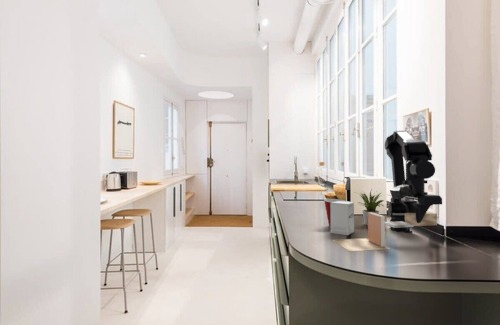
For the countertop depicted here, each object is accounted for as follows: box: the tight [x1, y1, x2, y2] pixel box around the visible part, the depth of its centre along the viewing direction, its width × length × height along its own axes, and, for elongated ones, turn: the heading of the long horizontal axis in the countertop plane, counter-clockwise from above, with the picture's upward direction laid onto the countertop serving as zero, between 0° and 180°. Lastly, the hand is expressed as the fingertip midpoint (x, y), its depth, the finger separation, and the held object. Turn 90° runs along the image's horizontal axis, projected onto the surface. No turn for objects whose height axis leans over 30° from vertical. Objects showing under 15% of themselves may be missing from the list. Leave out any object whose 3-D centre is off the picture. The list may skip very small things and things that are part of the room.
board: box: [332, 237, 391, 252], centre depth 104 cm, size 14×14×1 cm
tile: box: [367, 212, 386, 247], centre depth 104 cm, size 2×8×10 cm, turn 8°
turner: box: [385, 211, 438, 228], centre depth 106 cm, size 17×6×4 cm, turn 97°
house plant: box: [354, 188, 385, 226], centre depth 139 cm, size 14×14×16 cm
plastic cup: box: [323, 198, 349, 228], centre depth 135 cm, size 11×11×12 cm
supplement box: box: [330, 200, 355, 236], centre depth 122 cm, size 7×7×13 cm
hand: (415, 221), depth 106 cm, fingers closed on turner, 3 cm apart
